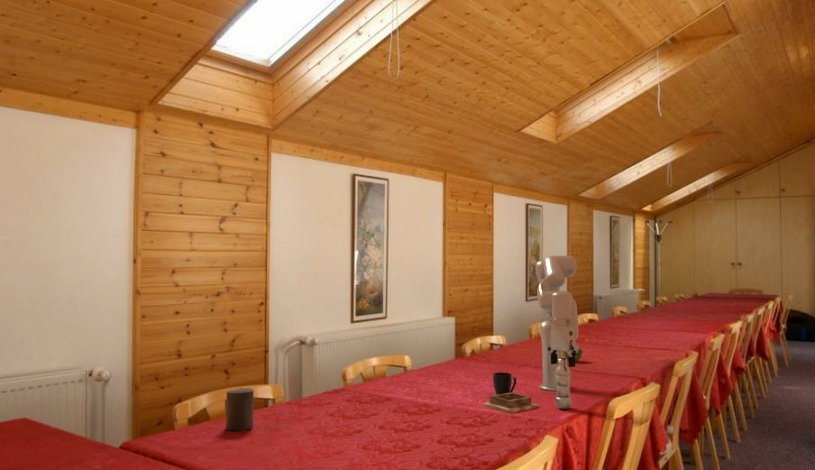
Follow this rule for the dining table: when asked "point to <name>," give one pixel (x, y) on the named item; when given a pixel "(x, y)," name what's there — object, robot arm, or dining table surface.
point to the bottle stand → (510, 402)
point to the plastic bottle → (563, 384)
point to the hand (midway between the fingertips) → (562, 365)
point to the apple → (576, 355)
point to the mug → (503, 382)
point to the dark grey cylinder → (239, 409)
